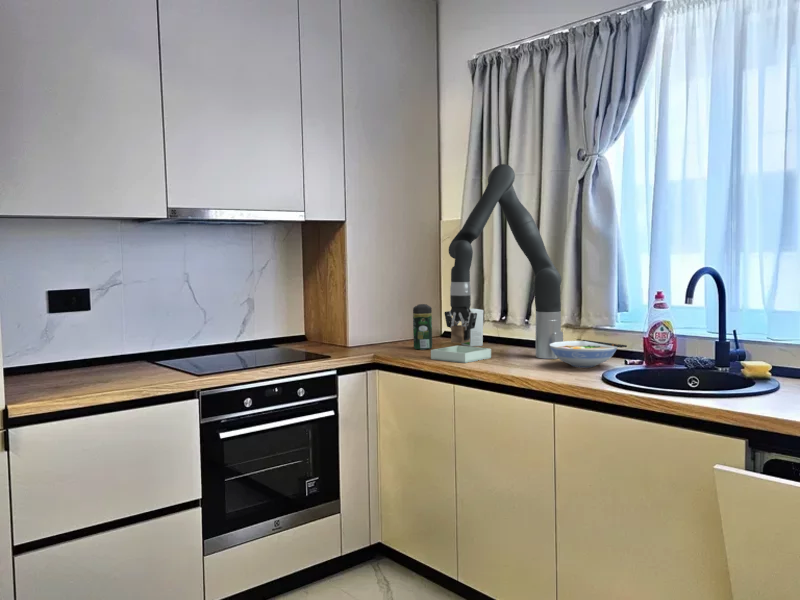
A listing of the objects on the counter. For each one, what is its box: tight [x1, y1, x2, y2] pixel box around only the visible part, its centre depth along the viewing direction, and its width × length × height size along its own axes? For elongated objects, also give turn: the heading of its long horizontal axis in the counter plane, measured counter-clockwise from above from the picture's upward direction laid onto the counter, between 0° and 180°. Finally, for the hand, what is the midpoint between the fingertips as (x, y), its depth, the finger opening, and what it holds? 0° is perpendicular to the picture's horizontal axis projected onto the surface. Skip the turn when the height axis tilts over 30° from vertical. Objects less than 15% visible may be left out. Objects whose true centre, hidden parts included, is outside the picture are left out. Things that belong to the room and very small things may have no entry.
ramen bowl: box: [550, 338, 628, 369], centre depth 234 cm, size 25×23×8 cm
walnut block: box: [450, 324, 470, 344], centre depth 256 cm, size 5×5×6 cm
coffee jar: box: [412, 303, 433, 351], centre depth 286 cm, size 10×8×19 cm
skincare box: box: [460, 307, 484, 347], centre depth 294 cm, size 8×7×16 cm
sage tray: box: [430, 345, 492, 364], centre depth 256 cm, size 16×16×4 cm
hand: (460, 339), depth 256 cm, fingers closed on walnut block, 5 cm apart
